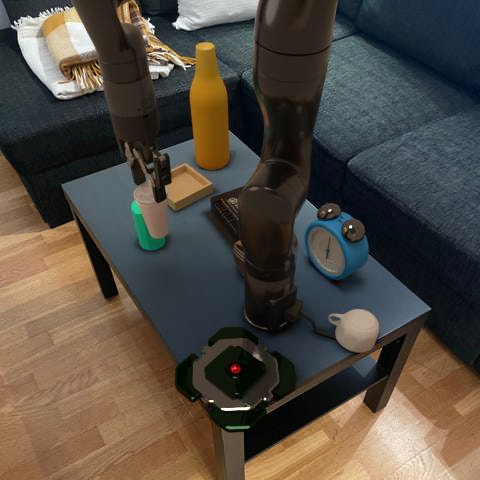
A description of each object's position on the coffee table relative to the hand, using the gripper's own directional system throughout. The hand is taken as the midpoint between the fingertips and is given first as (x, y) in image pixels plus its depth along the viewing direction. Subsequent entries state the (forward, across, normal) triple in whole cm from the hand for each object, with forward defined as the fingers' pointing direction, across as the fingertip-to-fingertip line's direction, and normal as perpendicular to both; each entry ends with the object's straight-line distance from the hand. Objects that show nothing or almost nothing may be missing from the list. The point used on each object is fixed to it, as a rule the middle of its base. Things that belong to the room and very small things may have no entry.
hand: (150, 191), depth 86 cm
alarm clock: (+22, +22, +28) cm, 42 cm away
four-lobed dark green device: (+21, +31, -6) cm, 38 cm away
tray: (+21, -21, +19) cm, 35 cm away
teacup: (+16, +37, +18) cm, 44 cm away
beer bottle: (+21, -26, +33) cm, 47 cm away
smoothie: (+10, 0, 0) cm, 10 cm away
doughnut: (+22, +13, +13) cm, 28 cm away
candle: (+21, -10, +3) cm, 24 cm away
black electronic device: (+21, +1, +23) cm, 31 cm away
